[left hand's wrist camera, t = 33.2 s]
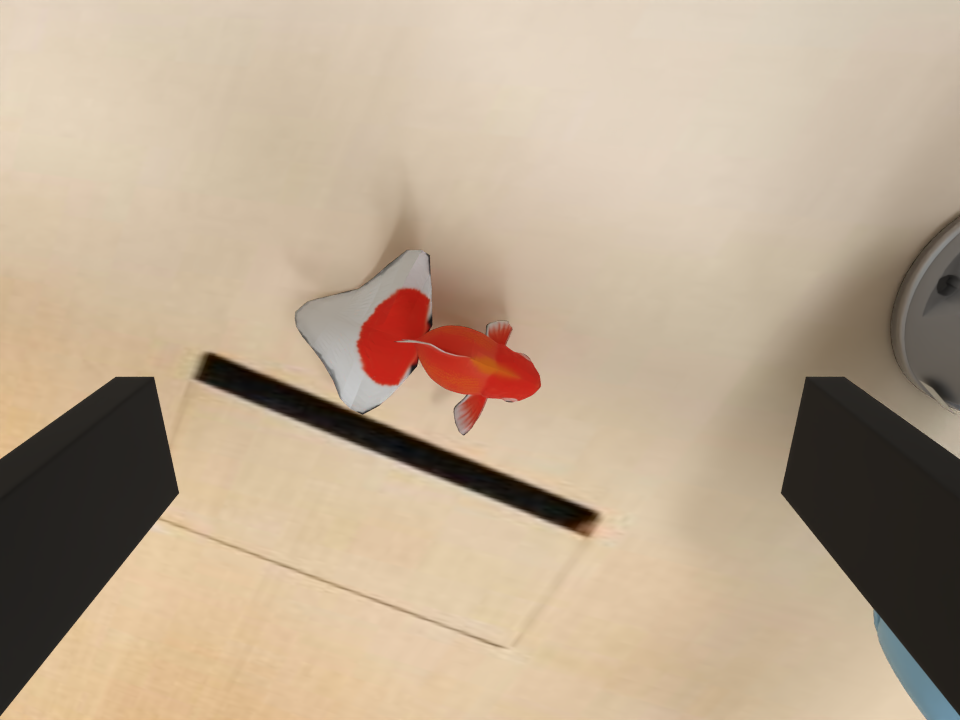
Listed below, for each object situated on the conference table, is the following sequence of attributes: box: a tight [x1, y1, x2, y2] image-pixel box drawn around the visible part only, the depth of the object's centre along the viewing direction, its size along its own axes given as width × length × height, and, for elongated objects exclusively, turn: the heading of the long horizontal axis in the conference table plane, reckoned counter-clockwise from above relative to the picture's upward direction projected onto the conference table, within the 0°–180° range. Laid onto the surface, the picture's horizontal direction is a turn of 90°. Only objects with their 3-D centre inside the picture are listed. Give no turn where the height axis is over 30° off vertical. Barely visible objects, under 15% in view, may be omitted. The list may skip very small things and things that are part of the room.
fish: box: [295, 250, 541, 435], centre depth 38 cm, size 11×16×10 cm
